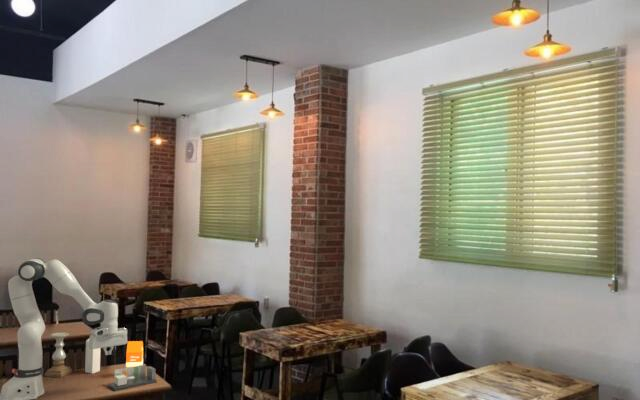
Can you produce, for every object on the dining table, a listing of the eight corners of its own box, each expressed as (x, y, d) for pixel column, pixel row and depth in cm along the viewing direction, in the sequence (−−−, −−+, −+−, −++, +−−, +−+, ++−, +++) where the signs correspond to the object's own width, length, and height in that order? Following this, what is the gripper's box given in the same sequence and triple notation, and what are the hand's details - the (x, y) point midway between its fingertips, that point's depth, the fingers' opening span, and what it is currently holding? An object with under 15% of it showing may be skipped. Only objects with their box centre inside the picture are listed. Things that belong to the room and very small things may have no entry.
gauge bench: (114, 391, 294) (115, 375, 294) (107, 386, 302) (108, 370, 302) (156, 382, 310) (157, 367, 310) (148, 378, 318) (149, 363, 318)
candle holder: (61, 377, 315) (62, 336, 315) (44, 376, 316) (45, 335, 317) (72, 372, 326) (73, 332, 326) (55, 370, 327) (57, 331, 328)
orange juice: (127, 373, 326) (128, 339, 327) (142, 372, 328) (143, 339, 329) (125, 377, 319) (126, 343, 319) (141, 376, 320) (142, 342, 321)
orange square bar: (125, 381, 305) (125, 372, 305) (124, 380, 306) (125, 371, 306) (127, 380, 306) (128, 371, 306) (126, 380, 307) (127, 371, 307)
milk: (92, 369, 331) (94, 333, 332) (100, 371, 329) (101, 334, 330) (84, 372, 326) (86, 335, 327) (92, 373, 323) (93, 336, 324)
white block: (117, 385, 297) (118, 378, 297) (113, 382, 302) (113, 375, 302) (135, 382, 304) (135, 375, 304) (130, 379, 309) (131, 372, 309)
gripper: (125, 326, 306) (124, 350, 305) (88, 330, 292) (87, 356, 292) (129, 328, 301) (128, 353, 301) (92, 332, 287) (91, 359, 287)
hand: (108, 354), depth 296 cm, fingers closed
